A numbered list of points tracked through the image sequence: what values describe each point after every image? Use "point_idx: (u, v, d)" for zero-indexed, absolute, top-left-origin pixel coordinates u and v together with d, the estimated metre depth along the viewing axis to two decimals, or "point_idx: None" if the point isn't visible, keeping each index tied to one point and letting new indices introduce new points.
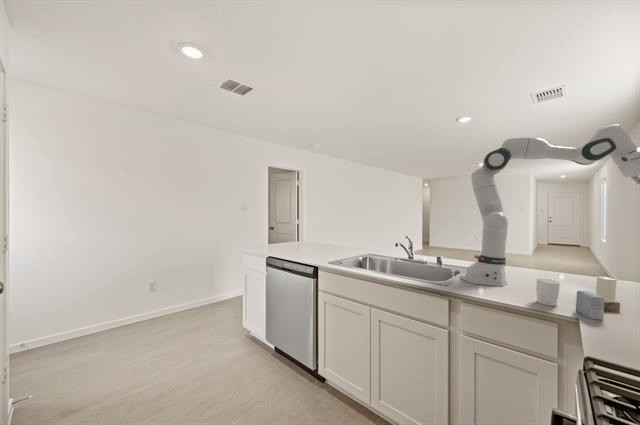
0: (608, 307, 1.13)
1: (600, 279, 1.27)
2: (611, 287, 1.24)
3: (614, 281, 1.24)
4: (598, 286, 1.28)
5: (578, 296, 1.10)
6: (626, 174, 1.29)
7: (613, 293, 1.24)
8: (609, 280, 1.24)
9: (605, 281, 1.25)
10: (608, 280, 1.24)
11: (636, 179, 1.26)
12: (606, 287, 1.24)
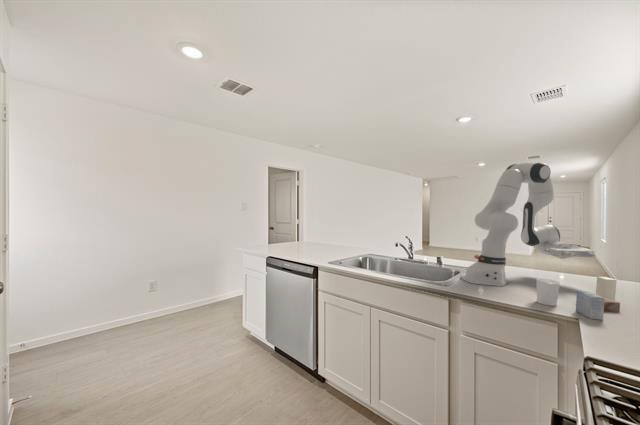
0: (608, 307, 1.13)
1: (600, 279, 1.27)
2: (611, 287, 1.24)
3: (614, 281, 1.24)
4: (598, 286, 1.28)
5: (578, 296, 1.10)
6: (561, 249, 1.44)
7: (613, 293, 1.24)
8: (609, 280, 1.24)
9: (605, 281, 1.25)
10: (608, 280, 1.24)
11: None
12: (606, 287, 1.24)
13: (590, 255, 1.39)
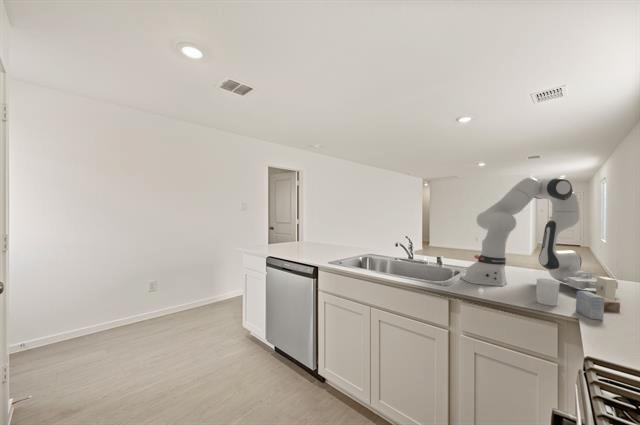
0: (608, 307, 1.13)
1: (600, 279, 1.27)
2: (611, 287, 1.24)
3: (614, 281, 1.24)
4: None
5: (578, 296, 1.10)
6: (581, 280, 1.32)
7: (613, 293, 1.24)
8: (609, 280, 1.24)
9: (605, 281, 1.25)
10: (608, 280, 1.24)
11: None
12: (606, 287, 1.24)
13: None
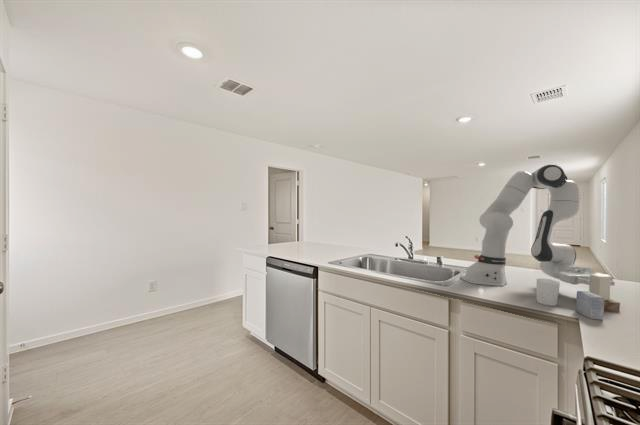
0: (608, 307, 1.13)
1: (593, 276, 1.17)
2: (605, 285, 1.14)
3: (608, 278, 1.14)
4: None
5: (578, 296, 1.10)
6: (573, 274, 1.22)
7: (607, 291, 1.15)
8: (603, 277, 1.14)
9: (599, 279, 1.15)
10: (602, 277, 1.14)
11: None
12: (600, 285, 1.14)
13: None
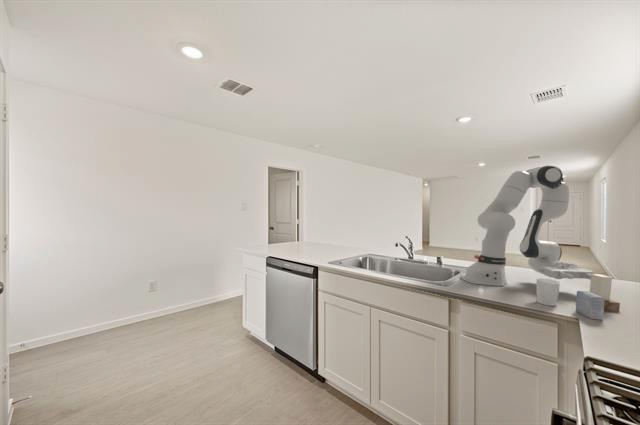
0: (607, 307, 1.13)
1: (595, 277, 1.17)
2: (606, 285, 1.14)
3: (610, 279, 1.14)
4: (592, 284, 1.18)
5: (578, 296, 1.10)
6: (557, 269, 1.30)
7: (608, 292, 1.15)
8: (605, 278, 1.14)
9: (601, 279, 1.14)
10: (604, 278, 1.14)
11: None
12: (601, 285, 1.14)
13: (589, 277, 1.25)
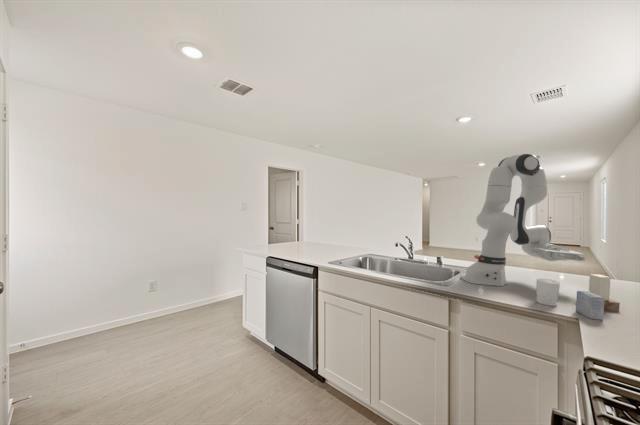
0: (607, 307, 1.13)
1: (593, 277, 1.17)
2: (605, 285, 1.14)
3: (608, 279, 1.14)
4: (591, 284, 1.18)
5: (578, 296, 1.10)
6: (549, 250, 1.34)
7: (607, 292, 1.14)
8: (603, 278, 1.14)
9: (599, 279, 1.14)
10: (602, 278, 1.14)
11: None
12: (600, 286, 1.14)
13: (580, 258, 1.29)
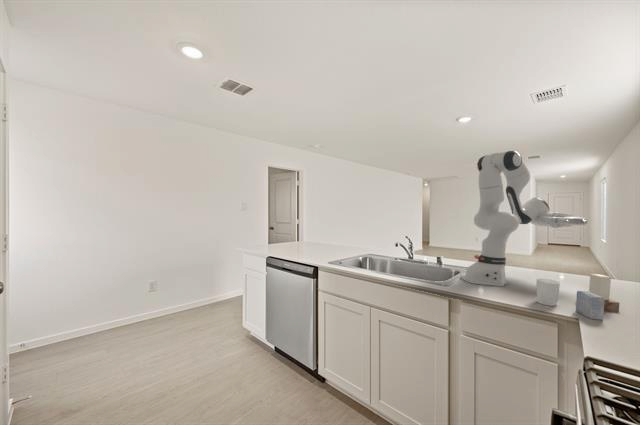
0: (607, 307, 1.13)
1: (594, 276, 1.17)
2: (606, 285, 1.15)
3: (609, 278, 1.15)
4: (591, 284, 1.18)
5: (578, 296, 1.10)
6: (554, 217, 1.46)
7: (608, 291, 1.15)
8: (604, 277, 1.14)
9: (600, 279, 1.15)
10: (603, 277, 1.14)
11: None
12: (601, 285, 1.14)
13: (582, 222, 1.41)
